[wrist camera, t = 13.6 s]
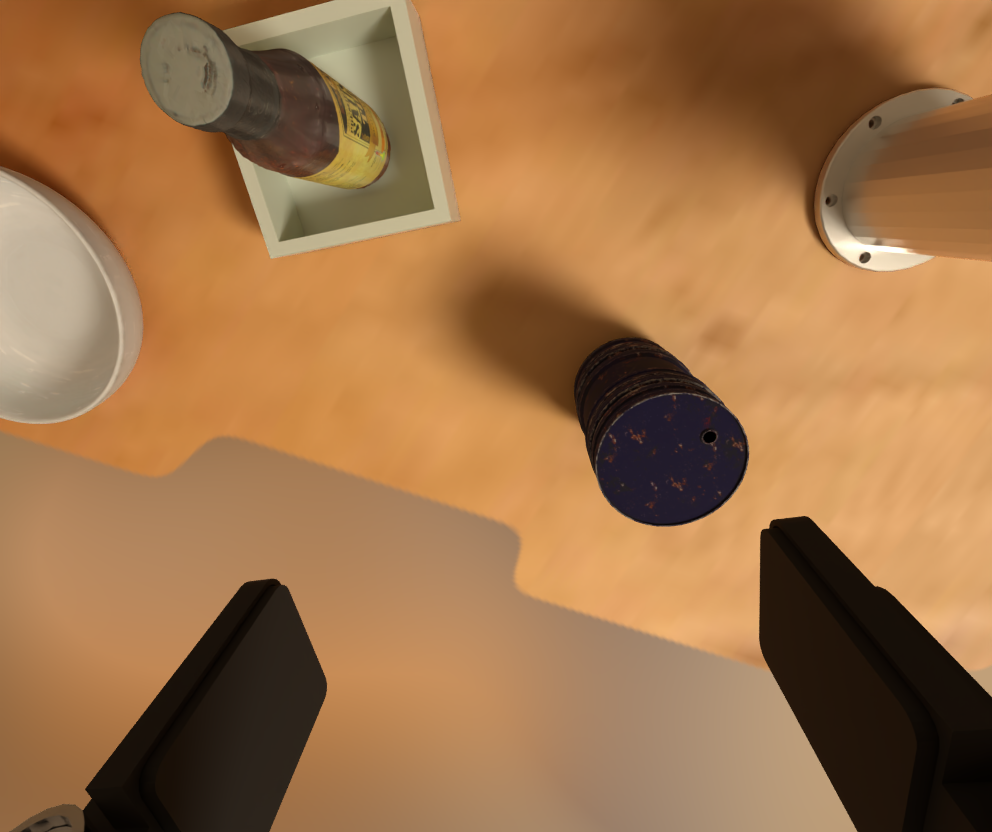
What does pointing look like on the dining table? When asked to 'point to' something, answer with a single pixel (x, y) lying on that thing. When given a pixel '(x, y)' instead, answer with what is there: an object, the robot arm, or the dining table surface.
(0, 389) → the serving bowl
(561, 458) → the dining table surface
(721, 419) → the rusty oil drum
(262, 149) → the sauce bottle
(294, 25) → the bin
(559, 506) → the dining table surface
